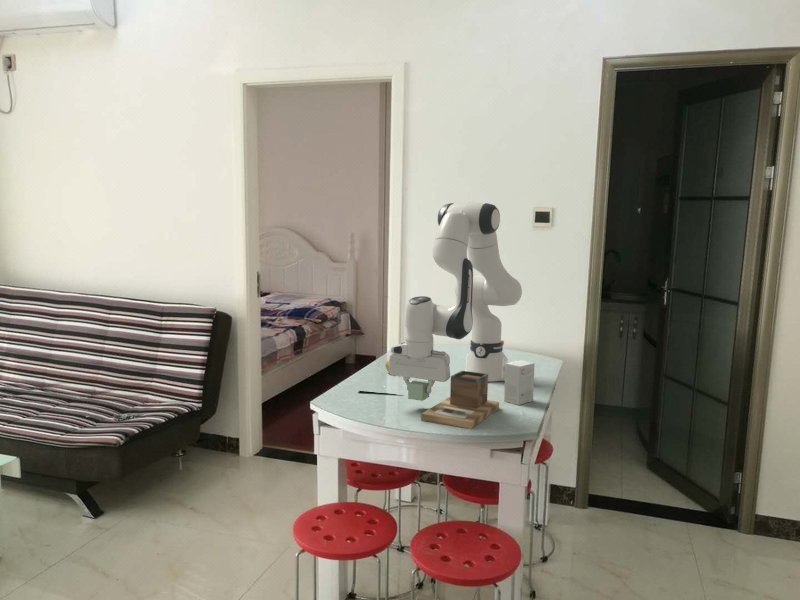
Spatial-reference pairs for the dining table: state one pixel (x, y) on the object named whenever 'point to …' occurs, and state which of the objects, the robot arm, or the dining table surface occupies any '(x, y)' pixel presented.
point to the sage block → (417, 390)
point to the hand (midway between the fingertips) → (418, 391)
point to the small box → (519, 382)
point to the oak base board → (460, 421)
